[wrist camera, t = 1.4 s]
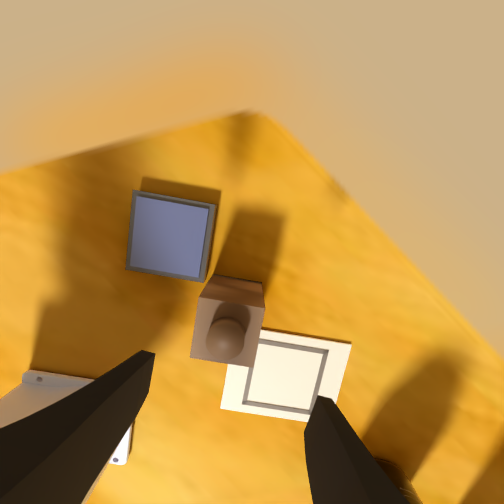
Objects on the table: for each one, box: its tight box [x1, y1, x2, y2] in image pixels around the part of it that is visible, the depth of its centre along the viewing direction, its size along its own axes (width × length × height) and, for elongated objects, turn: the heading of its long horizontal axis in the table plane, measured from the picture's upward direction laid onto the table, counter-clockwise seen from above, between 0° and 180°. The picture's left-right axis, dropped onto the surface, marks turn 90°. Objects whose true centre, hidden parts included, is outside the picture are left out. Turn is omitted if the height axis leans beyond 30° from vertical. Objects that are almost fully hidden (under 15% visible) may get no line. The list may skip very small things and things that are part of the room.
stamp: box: [190, 274, 265, 368], centre depth 17 cm, size 4×4×6 cm
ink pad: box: [126, 190, 217, 283], centre depth 18 cm, size 6×6×1 cm
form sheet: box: [220, 329, 352, 422], centre depth 21 cm, size 10×8×1 cm
